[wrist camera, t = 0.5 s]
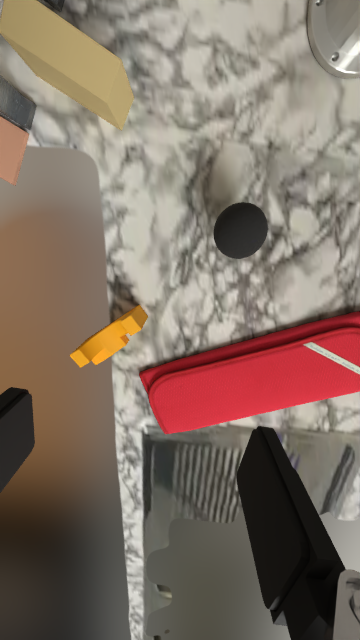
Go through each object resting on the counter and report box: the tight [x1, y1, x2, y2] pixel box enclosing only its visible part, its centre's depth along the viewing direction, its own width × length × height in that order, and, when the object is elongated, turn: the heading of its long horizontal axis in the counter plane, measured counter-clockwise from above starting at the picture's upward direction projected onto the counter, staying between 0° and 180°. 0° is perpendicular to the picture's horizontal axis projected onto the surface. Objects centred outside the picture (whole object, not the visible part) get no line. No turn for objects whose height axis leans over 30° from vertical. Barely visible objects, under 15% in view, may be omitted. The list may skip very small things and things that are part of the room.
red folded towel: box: [139, 311, 360, 434], centre depth 39 cm, size 16×41×4 cm, turn 108°
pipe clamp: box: [70, 305, 148, 368], centre depth 35 cm, size 12×4×6 cm, turn 123°
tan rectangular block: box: [0, 0, 134, 131], centre depth 25 cm, size 4×12×6 cm, turn 61°
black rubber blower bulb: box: [214, 202, 268, 259], centre depth 28 cm, size 6×6×10 cm
